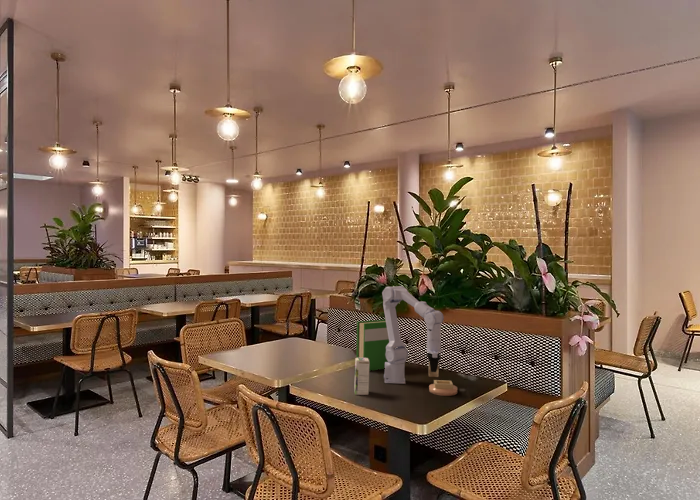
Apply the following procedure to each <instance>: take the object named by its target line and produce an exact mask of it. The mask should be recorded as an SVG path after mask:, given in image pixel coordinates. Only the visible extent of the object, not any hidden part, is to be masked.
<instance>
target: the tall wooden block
mask: <svg viewBox="0 0 700 500" xmlns="http://www.w3.org/2000/svg"><path fill="white" fill-rule="evenodd" d="M439 366H440V362H438V366H437V371H436V372H431V368H430V362H429V361H428V378H429V377H430V378H432V377H435V378H439V369H440V367H439Z"/></svg>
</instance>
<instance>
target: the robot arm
mask: <svg viewBox="0 0 700 500" xmlns="http://www.w3.org/2000/svg"><path fill="white" fill-rule="evenodd" d="M381 294H382V300H383V302H382V306H383V311H384V317H385V319H384V320H386V325H387V331H388V337H389V343H388V345H387V346H386V359H387V361H388V362H385V369H384V374H383V379H384V383H385V384H399V385H400V384H401V385H403V384H405V385H406V378H405V368H406V367H405V365H406V364H405V363H406V362H407V361H406V360H407V359H408V358H409V351H408V349H407V346H406V343H404V341H402V339H401V334H400V326H399V322H398V316H397V309H396V307H397V305H398V304H399V303H401V301H404V302H406V303H407V304H408V305H410V306H411V307H413V308H414V313H416V314H418V315H419V316H420V317H421V318H423V319H424V322H425V326H426V330H427V331H426V336H427V337H426V352H427V353H426V355H427V359H428V363H429V362H430V368H431V372H436V371H437V366H438V362H439V361H440V359H441V357H442V356H441V353H443V352H444V349H443V348H442V349H441V346H442V345H441V338H442V337H441V332H442V330H441V329H442V328H441V327H442V323H443V322H444V318H445V317H444V313H442V312H441V311H440V310H435V308H434V307H431V306H430V305H428V304H427V302H426V301H422V300H421V301H419V300H418V299H417V298H415V296H413V294H411V293H409V291H408V289H407V288H405V287H404V286H403V285H399V286H396V285H395V286H385V288H384V289H383V290H382V292H381ZM439 363H440V362H439Z"/></svg>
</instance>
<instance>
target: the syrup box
mask: <svg viewBox="0 0 700 500" xmlns="http://www.w3.org/2000/svg"><path fill="white" fill-rule="evenodd" d="M354 359H355V360H354V362H355V363H354V383H353V384H354V388H353V389H354V390H353V391H354V395H355V396H360V395H361V396H364V395H365V396H366V395H367V396H368V395H369V391H370V388H369V387H370V371H369V359H368V358H357V357H355V358H354Z"/></svg>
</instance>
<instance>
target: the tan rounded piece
mask: <svg viewBox="0 0 700 500" xmlns="http://www.w3.org/2000/svg"><path fill="white" fill-rule="evenodd" d="M428 391H429V393H431V394H433V395H435V396H443V397H444V396H445V397H450V396H455V395H457V394H458V386H456V385H454V384H453V382H452V380H442V379H441V380H439V379H433V383H431V384H429V386H428Z"/></svg>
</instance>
